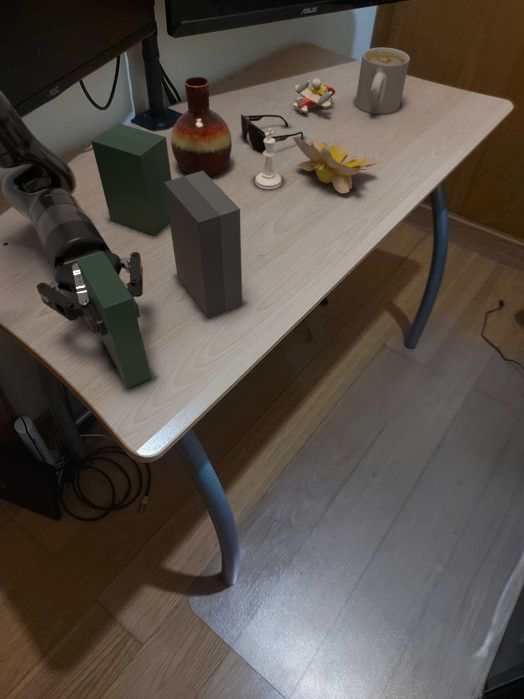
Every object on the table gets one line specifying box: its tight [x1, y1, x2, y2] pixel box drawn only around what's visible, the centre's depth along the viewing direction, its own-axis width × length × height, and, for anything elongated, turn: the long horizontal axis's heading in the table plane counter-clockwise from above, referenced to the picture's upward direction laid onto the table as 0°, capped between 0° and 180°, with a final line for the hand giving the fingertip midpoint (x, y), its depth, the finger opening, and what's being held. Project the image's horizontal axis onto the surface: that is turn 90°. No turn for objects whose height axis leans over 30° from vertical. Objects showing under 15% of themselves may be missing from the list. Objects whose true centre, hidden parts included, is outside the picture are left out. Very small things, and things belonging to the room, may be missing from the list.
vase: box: [170, 76, 233, 177], centre depth 93 cm, size 11×11×15 cm
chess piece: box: [254, 127, 283, 190], centre depth 91 cm, size 5×5×10 cm
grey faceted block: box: [164, 171, 243, 319], centre depth 70 cm, size 6×10×16 cm, turn 31°
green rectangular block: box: [90, 122, 173, 237], centre depth 82 cm, size 6×9×14 cm
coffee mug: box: [355, 47, 411, 115], centre depth 112 cm, size 13×10×10 cm
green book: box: [77, 251, 152, 389], centre depth 62 cm, size 3×9×14 cm, turn 31°
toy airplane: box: [293, 77, 336, 114], centre depth 112 cm, size 9×9×6 cm
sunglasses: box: [240, 113, 304, 153], centre depth 104 cm, size 11×12×5 cm
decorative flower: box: [292, 136, 379, 194], centre depth 92 cm, size 15×11×10 cm
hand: (118, 323), depth 60 cm, fingers closed on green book, 3 cm apart
